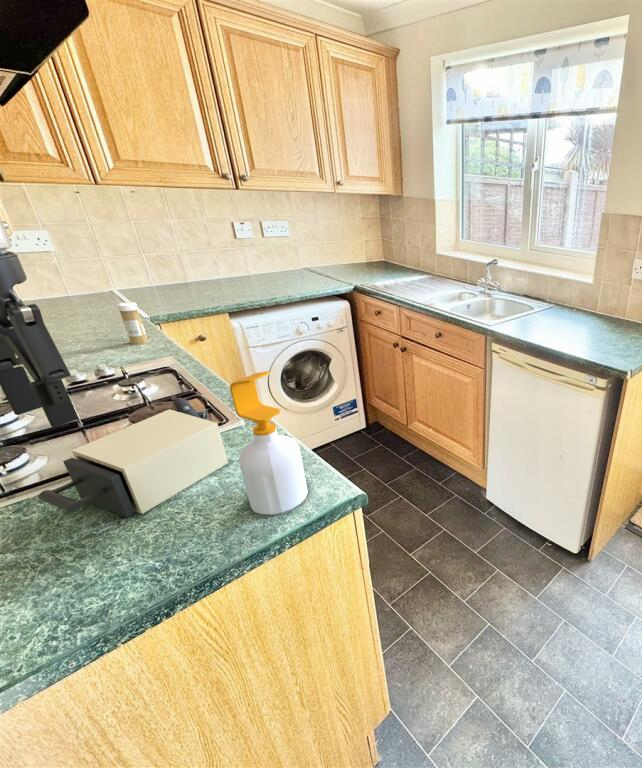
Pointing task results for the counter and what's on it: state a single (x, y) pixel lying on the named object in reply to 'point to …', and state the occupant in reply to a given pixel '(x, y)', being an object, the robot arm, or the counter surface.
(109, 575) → the counter surface
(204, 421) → the drawer box
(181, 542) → the counter surface
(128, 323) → the sprinkles bottle
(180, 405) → the grey club-shaped piece
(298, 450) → the spray bottle
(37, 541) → the counter surface
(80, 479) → the dark grey drawer
